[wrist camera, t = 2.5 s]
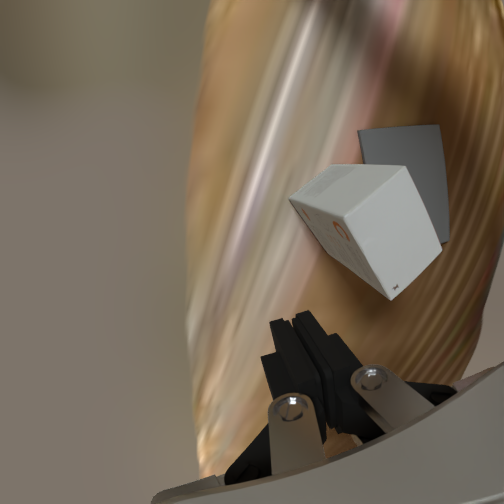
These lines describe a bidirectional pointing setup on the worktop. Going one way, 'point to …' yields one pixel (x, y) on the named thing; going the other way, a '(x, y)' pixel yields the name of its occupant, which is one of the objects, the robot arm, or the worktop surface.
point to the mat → (414, 164)
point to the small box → (370, 222)
